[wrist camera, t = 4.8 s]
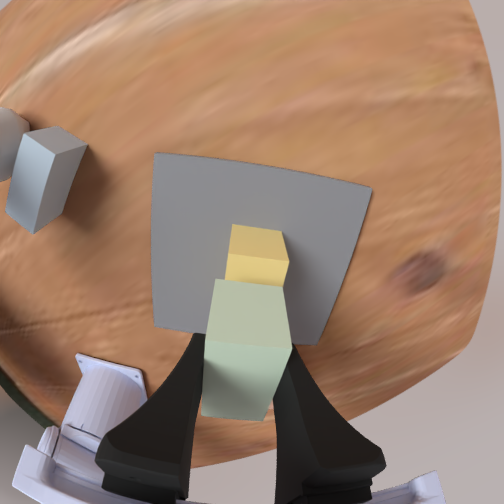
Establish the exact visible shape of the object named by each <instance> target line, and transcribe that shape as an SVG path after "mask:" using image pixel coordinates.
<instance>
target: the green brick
mask: <svg viewBox="0 0 504 504" xmlns="http://www.w3.org/2000/svg"><path fill="white" fill-rule="evenodd" d="M291 351H292V343H291V337H290V330H289V324H288V318H287V312H286V306H285V299H284V293H283V287H279V286H270V285H262V284H254V283H246V282H238V281H230V280H222V279H215V285H214V290H213V296H212V302H211V308H210V314H209V320H208V326H207V332H206V338H205V351H204V368H203V387H202V409H201V416H207V417H216V418H226V419H237V420H251V421H263V420H264V417H265V415H266V413H267V411H268V408H269V406H270V404H271V401H272V399H273V396H274V394H275V392H276V389H277V387H278V384H279V382H280V379H281V377H282V374H283V372H284V369H285V367H286V364H287V361H288V359H289V356H290V354H291Z"/></svg>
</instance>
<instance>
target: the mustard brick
mask: <svg viewBox="0 0 504 504" xmlns="http://www.w3.org/2000/svg"><path fill="white" fill-rule="evenodd" d="M288 265H289V259H288V255H287V251H286V247H285V243H284V239H283V235H282V232H281V231H276V230H270V229H263V228H256V227H249V226H242V225H235V224H232V230H231V237H230V244H229V251H228V259H227V266H226V274H225V280H230V281H238V282H246V283H254V284H262V285H270V286H279V287H283V284H284V280H285V276H286V273H287V269H288Z"/></svg>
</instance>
